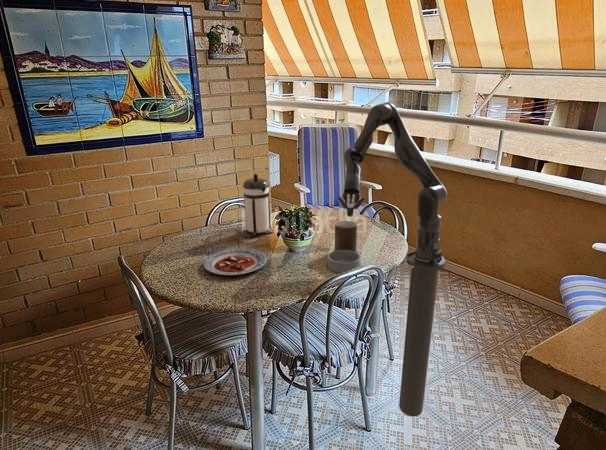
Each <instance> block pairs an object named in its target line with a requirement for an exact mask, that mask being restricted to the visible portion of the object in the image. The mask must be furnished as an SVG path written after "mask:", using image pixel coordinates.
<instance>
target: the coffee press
mask: <svg viewBox="0 0 606 450" xmlns="http://www.w3.org/2000/svg"><path fill="white" fill-rule="evenodd" d="M242 188H243V207H244V217H245V218H244V219H245V228H244V229H243V231H244V232H245V233H247V232H249V233H252V235H253V238H257V236H258V234H262V233H265V232H269V233H270V234H272V233H273V232H274V230H273V228H272V226H271V205H270V204H271V203H270V190H269V188H270V183H269V181H268V180H267V179H265V178H262V177H259V175H258V174H257V173H254V174H253V176H252V177H251V178H247V179H246V180H244V182H243V184H242Z"/></svg>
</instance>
